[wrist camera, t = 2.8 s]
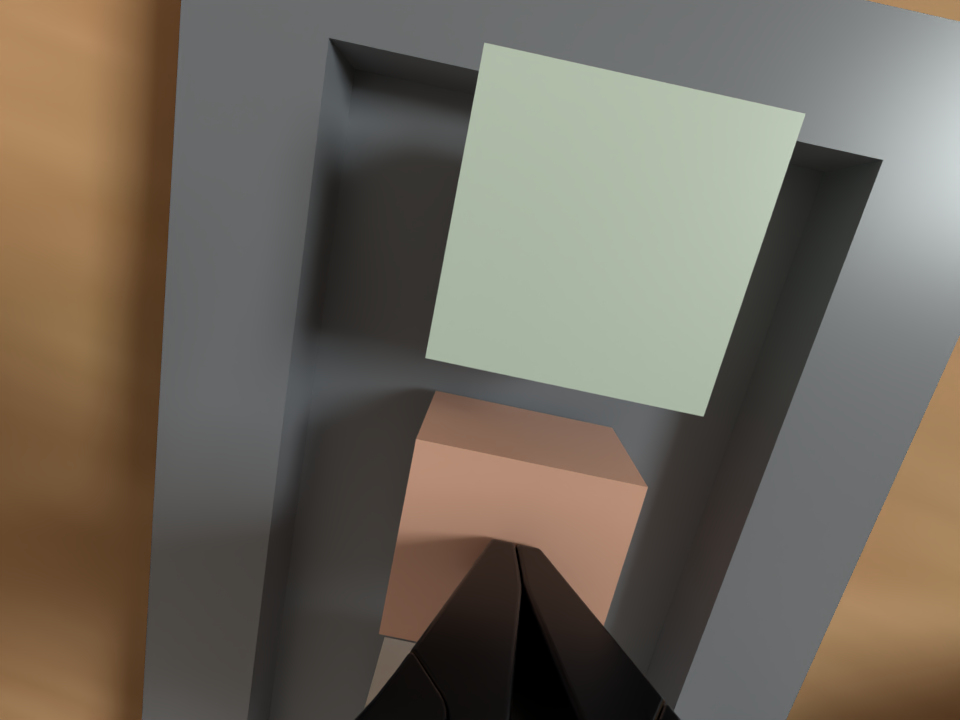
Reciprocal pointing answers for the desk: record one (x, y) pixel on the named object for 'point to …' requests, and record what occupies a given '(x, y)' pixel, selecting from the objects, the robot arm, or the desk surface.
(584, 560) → the key terracotta
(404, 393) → the keypad board
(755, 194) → the key sage
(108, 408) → the desk surface
